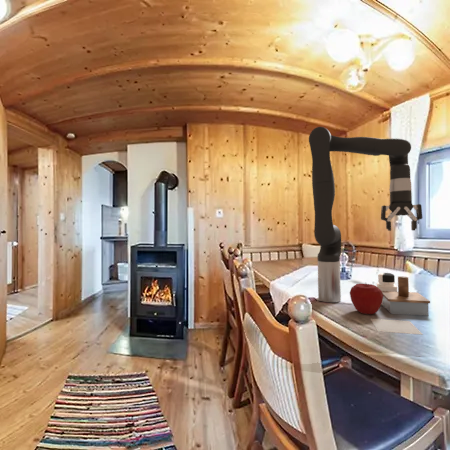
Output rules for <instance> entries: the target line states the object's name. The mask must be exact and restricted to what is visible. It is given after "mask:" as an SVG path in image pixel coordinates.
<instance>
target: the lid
mask: <svg viewBox="0 0 450 450" xmlns="http://www.w3.org/2000/svg"><path fill="white" fill-rule="evenodd" d="M409 282H410V281H409V277H408V276H397V292H392V291H382V294H383V296H384V297H385V298H386V299H387V300H388V301H390V302H411V303H428V304H431V300H429V299H428V298H426V296H423V295H422V294H420V293H418V292H417V291H416V292H411V291H410V290H409V289H410V288H409V287H410V286H409ZM409 291H410V292H409Z"/></svg>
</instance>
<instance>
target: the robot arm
mask: <svg viewBox="0 0 450 450" xmlns="http://www.w3.org/2000/svg"><path fill="white" fill-rule="evenodd" d="M308 143H309V147H310V153H311V159H312V161H311V162H312V163H311V164H312V167H311V181H312V182H311V185H312V186H311V187H312V196H313V210H314V227H313V228H314V231H313V232H314V239H315V241H316V243H317V244H319V245H320V246H319V248H320V249H319V252H318V253H317V290H318V292H317V293H318V295H317V297H318V299H317V300H318V301H319V302H324V303H339V302H341V301H342V299H341V298H342V295H341V294H342V293H341V292H342V291H341V289H342V288H341V261H340V260H341V254H342V233H341V229H340V228H339V227H338V226H337V225H335V224H334V223H333V216H332V215H333V206H334V203H335V195H336V185H335V177H334V171H333V166H332V162H331V153H330V152H339V153H340V152H342V153H353V154H358V155H359V154H360V155H365V156H366V155H368V156H376V157H377V156H388V160H389V167H390V169H389V175H390V176H389V177H390V179H389V180H390V181H389V205H385V204H384V205H381V207H380V209H381V211H380V220H381V221H385V229H386V230H387V231H389V232H391V231H392V221H391V220H392V219H393V218H394V217H395V216H396V217H398V216H407V217H409V219H410V220H411V221H410V222H411V225H410V226H411V231H416V230H417V229H418V223H417V222H418V221H420V220H422V219H423V209H422V204H420V203H418V204H413V202H412V201H413V197H412V196H413V195H412V180H411V167H410V164H409V154H410V153H411V151H412V144H411V143H410V142H409V140H407V139H403V138H378V137H369V136H353V137H343V136H336V135H332V134H331V132H330V131H329V130H328V128H326V127H324V126H317V127H314V128H313V129H312V130H311V132H310V134H309V137H308ZM413 209H414V211H415V212H416V214H414V213H413V212H412V210H413ZM388 210H389V211H391V212H390V213H389V214H388V216H387V217H386V215H387V214H386V212H387V211H388Z"/></svg>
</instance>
